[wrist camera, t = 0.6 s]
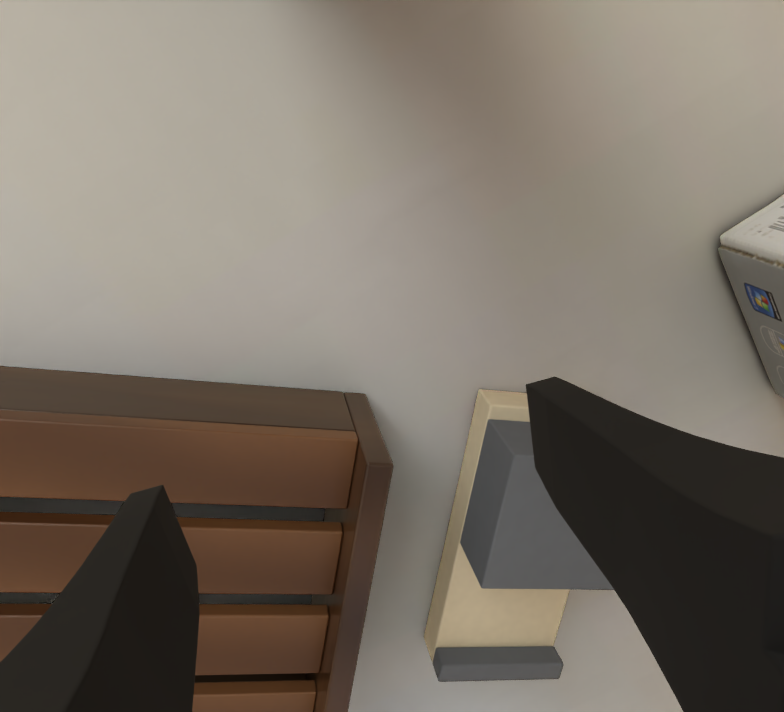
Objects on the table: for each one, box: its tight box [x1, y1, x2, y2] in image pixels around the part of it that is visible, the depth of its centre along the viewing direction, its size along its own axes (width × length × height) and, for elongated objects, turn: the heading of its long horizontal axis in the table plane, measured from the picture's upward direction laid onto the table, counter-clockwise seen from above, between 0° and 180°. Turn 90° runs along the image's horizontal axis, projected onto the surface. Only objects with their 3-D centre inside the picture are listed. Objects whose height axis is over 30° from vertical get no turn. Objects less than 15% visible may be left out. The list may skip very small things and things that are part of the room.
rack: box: [0, 366, 393, 712], centre depth 23 cm, size 12×16×5 cm
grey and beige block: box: [424, 389, 614, 682], centre depth 26 cm, size 11×5×4 cm, turn 170°
